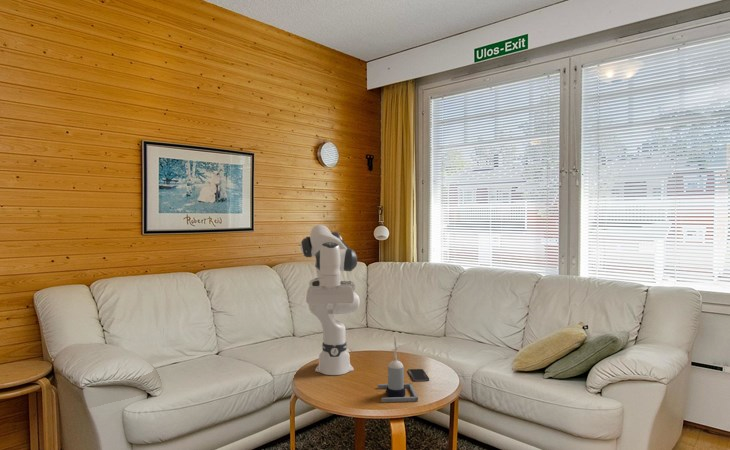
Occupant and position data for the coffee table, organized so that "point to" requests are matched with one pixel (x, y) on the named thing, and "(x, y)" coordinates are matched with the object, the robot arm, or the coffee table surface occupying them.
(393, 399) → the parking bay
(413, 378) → the phone
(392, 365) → the humidifier
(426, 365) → the coffee table surface
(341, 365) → the robot arm
